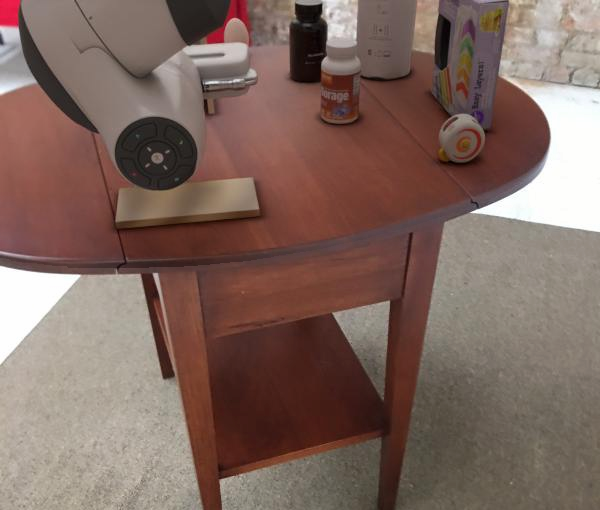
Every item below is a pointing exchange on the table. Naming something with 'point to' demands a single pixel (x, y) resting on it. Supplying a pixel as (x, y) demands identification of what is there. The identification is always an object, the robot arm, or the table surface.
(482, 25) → the cake pan box
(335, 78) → the pill bottle
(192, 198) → the board
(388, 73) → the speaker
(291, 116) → the table surface
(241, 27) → the egg
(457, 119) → the roller toy
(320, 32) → the supplement bottle
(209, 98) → the robot arm
